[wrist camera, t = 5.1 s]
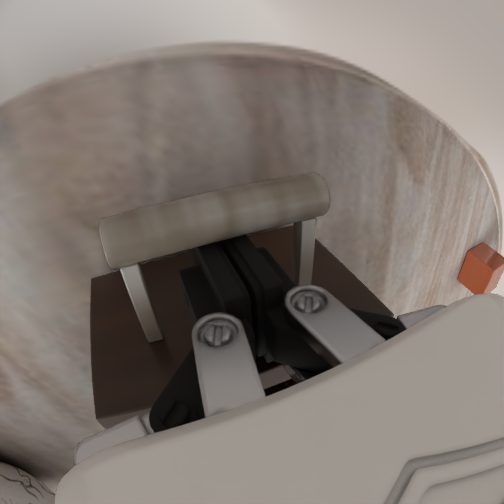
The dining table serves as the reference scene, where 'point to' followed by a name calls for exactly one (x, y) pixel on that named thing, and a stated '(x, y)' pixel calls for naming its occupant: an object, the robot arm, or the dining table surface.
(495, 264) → the block
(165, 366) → the drawer
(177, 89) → the dining table surface
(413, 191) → the dining table surface
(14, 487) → the decorative sphere
